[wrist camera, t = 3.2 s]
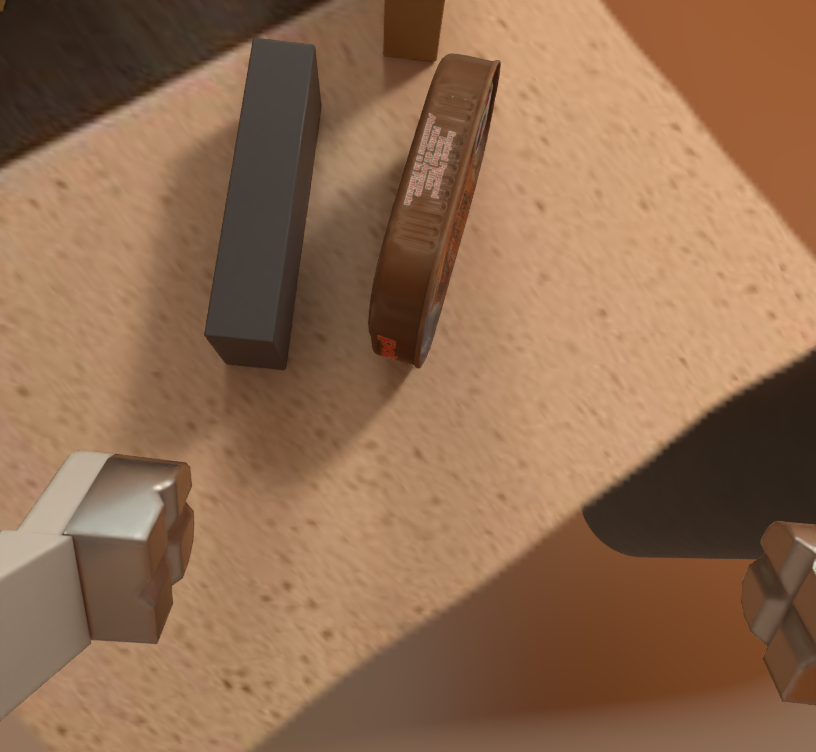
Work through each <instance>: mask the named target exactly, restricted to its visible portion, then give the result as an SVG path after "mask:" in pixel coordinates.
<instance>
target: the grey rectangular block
mask: <svg viewBox="0 0 816 752" xmlns="http://www.w3.org/2000/svg"><path fill="white" fill-rule="evenodd" d="M320 113H321V97H320V87H319V78H318V68H317V59H316V49H315V45H313V44H304V43H296V42H287V41H278V40H270V39H261V38H253V42H252V48H251V54H250V60H249V66H248V72H247V78H246V84H245V90H244V96H243V102H242V108H241V115H240V121H239V127H238V133H237V139H236V145H235V151H234V157H233V163H232V169H231V175H230V181H229V187H228V193H227V199H226V205H225V211H224V218H223V224H222V230H221V236H220V242H219V248H218V254H217V260H216V266H215V272H214V278H213V284H212V290H211V296H210V302H209V308H208V315H207V321H206V327H205V333H204V335H205V337H206V338H207V340H208V341H209V342H210V344H211V345H212V346H213V347H214V349H215V350H216V351H217V353H218V354H219V355H220V357H221V358H222V359H223V361H224V362H225V363H226V364H230V365H239V366H249V367H259V368H269V369H279V370H285V369H286V363H287V356H288V348H289V341H290V334H291V326H292V319H293V312H294V304H295V297H296V290H297V282H298V275H299V268H300V260H301V253H302V245H303V238H304V231H305V223H306V216H307V209H308V201H309V194H310V187H311V179H312V172H313V165H314V157H315V150H316V142H317V135H318V128H319V120H320Z"/></svg>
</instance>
